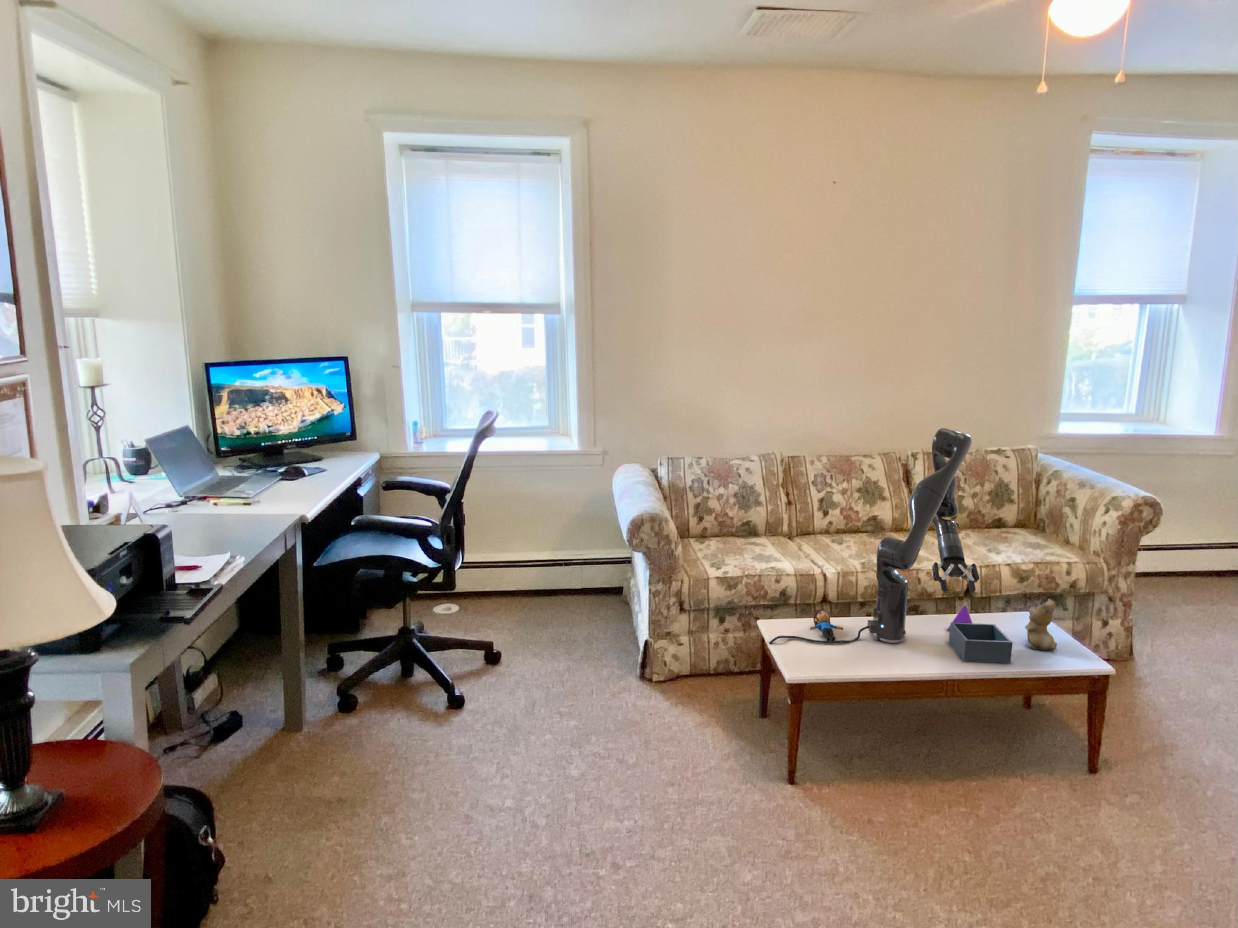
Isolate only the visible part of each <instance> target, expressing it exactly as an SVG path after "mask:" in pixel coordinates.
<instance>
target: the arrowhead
mask: <svg viewBox="0 0 1238 928" xmlns="http://www.w3.org/2000/svg"><path fill="white" fill-rule="evenodd" d="M968 609H969V608H968V607H967V605H966V604H965V605H962V607H961V608H960V610H959V612H958V613H957V615H956V616H955V618H953V620H952V622H951V623H973V620H972V618H971V616H970V612H969V610H968ZM946 630H947V631H950V625H949V626H948V627H947V629H946Z"/></svg>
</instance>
